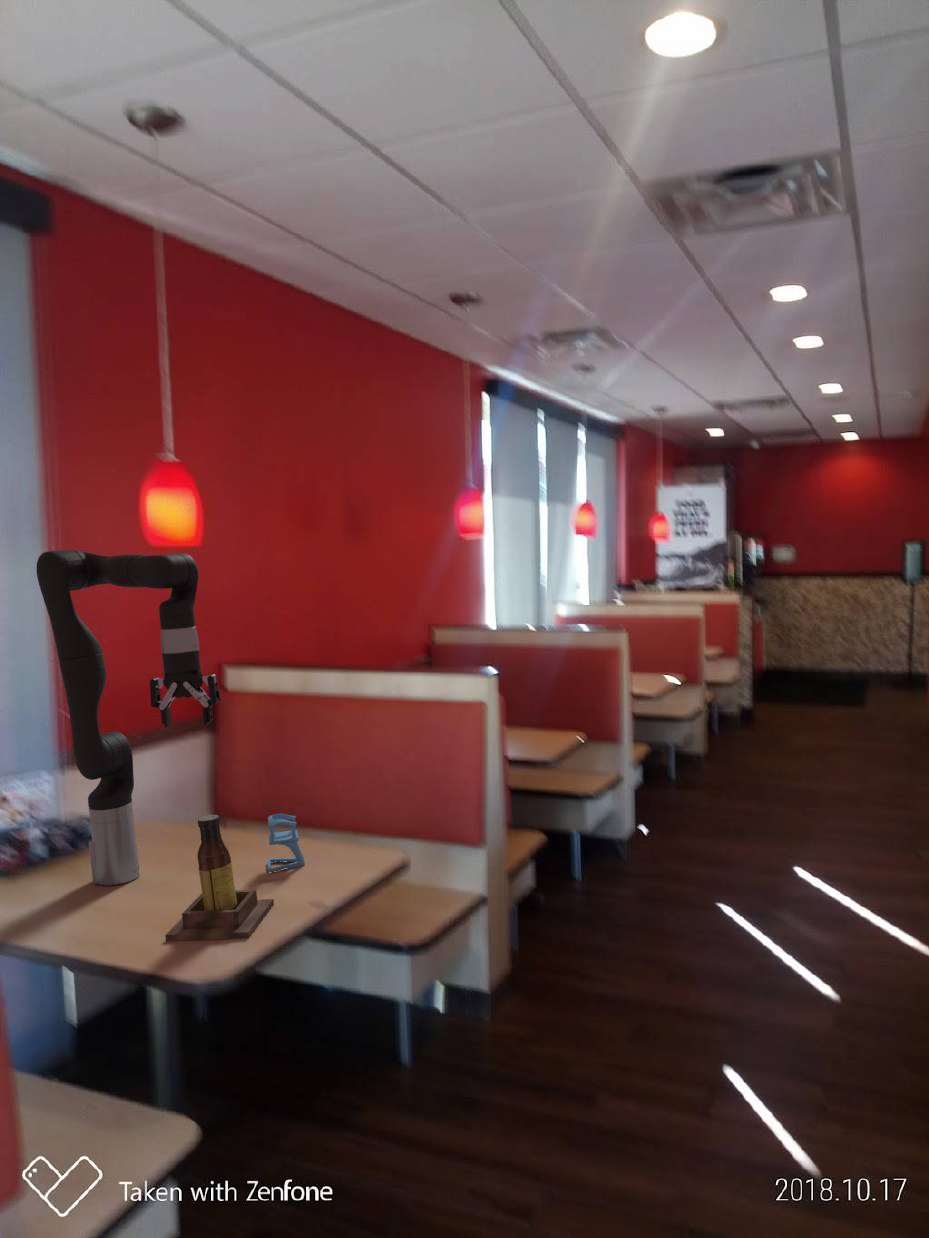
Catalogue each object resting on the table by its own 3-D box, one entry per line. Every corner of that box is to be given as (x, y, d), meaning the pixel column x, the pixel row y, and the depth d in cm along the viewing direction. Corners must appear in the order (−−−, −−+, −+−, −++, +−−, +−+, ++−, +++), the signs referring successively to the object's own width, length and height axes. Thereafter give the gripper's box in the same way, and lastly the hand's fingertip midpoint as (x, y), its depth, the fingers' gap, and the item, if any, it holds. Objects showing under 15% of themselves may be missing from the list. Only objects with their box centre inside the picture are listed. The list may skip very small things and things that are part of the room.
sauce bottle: (242, 909, 185) (233, 811, 184) (231, 922, 179) (221, 821, 178) (210, 910, 186) (200, 812, 184) (198, 923, 180) (188, 822, 178)
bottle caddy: (166, 941, 176) (163, 919, 175) (197, 907, 191) (195, 887, 191) (248, 938, 174) (246, 916, 174) (274, 904, 190) (272, 884, 190)
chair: (305, 868, 210) (301, 816, 209) (267, 874, 209) (263, 821, 208) (304, 858, 218) (299, 807, 217) (267, 863, 216) (263, 812, 215)
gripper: (140, 653, 193) (148, 731, 195) (206, 649, 192) (214, 727, 193) (155, 649, 201) (162, 723, 202) (219, 645, 199) (226, 720, 201)
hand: (188, 725), depth 198 cm, fingers open, 8 cm apart
